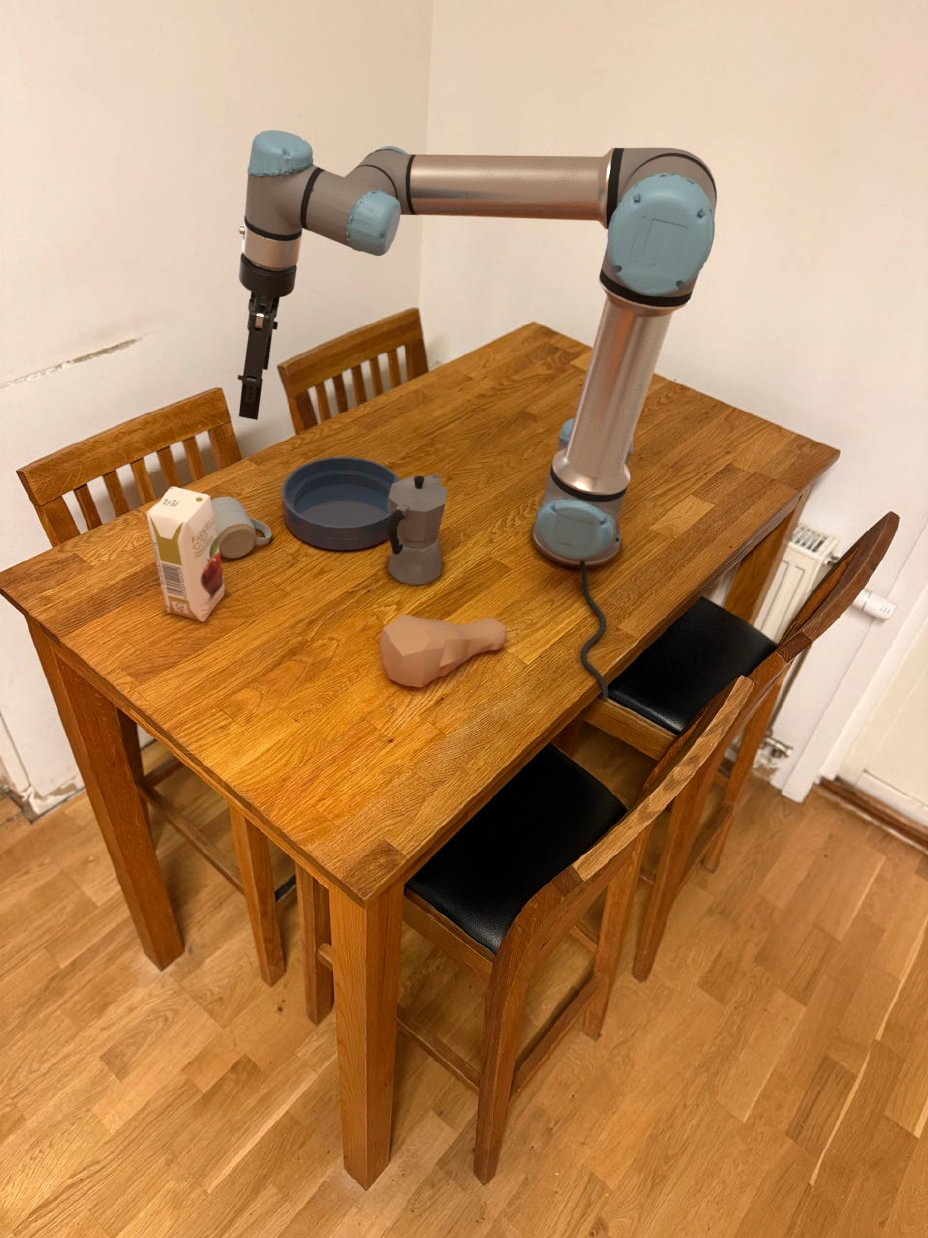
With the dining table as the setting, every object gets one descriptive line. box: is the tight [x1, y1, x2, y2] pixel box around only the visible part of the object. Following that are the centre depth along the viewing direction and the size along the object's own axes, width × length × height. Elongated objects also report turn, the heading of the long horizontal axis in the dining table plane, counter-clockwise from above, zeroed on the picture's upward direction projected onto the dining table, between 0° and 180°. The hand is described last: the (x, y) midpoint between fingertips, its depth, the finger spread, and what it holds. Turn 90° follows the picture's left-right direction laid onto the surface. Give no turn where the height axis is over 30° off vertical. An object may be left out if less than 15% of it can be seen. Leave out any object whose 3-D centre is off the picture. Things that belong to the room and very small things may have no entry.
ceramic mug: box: [211, 496, 273, 560], centre depth 145 cm, size 11×8×8 cm
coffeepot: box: [387, 473, 448, 586], centre depth 140 cm, size 15×9×18 cm, turn 153°
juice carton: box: [146, 486, 225, 623], centre depth 130 cm, size 8×9×19 cm
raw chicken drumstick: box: [378, 613, 507, 688], centre depth 129 cm, size 11×20×9 cm, turn 121°
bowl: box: [281, 456, 401, 551], centre depth 153 cm, size 21×21×6 cm
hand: (253, 391), depth 134 cm, fingers open, 13 cm apart
